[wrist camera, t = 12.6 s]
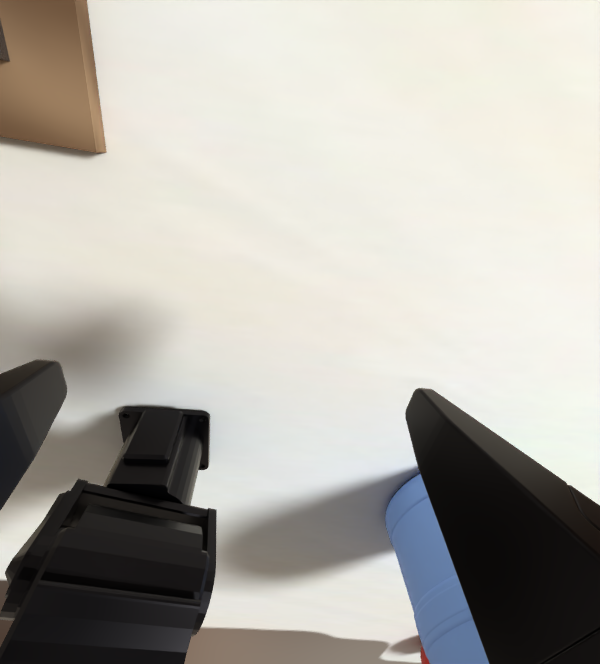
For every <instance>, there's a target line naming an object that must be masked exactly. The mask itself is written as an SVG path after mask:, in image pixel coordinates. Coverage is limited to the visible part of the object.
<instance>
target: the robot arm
mask: <svg viewBox="0 0 600 664" xmlns="http://www.w3.org/2000/svg"><path fill="white" fill-rule="evenodd" d="M66 395H67V385H66V382H65V378H64V374H63V371H62V367H61V364H60V363H59V362H57V361H55V360H42V359H39V360H34V361H32V362H29V363H27V364H24V365H22V366H19V367H17V368H14V369H12V370H9V371H7V372H4V373H2V374H0V510H1V509H2V507H3V506H4V504H5V503H6V501H7V500H8V498H9V496H10V495H11V493H12V492H13V490H14V489H15V487H16V486H17V484H18V483H19V481H20V480H21V478H22V477H23V475H24V473H25V472H26V470H27V469H28V467H29V466H30V464H31V463H32V461H33V459H34V458H35V456H36V454H37V452H38V451H39V449H40V447H41V445H42V443H43V441H44V439H45V437H46V435H47V433H48V431H49V429H50V427H51V425H52V423H53V421H54V419H55V418H56V416H57V414H58V412H59V410H60V408H61V406H62V404H63V402H64V400H65V398H66ZM202 417H203V418H202ZM119 419H120V425H121V431H122V436H123V442H124V445H123V447H122V449H121V451H120V453H119V455H118V457H117V459H116V461H115V463H114V465H113V467H112V469H111V472H110V474H109V476H108V478H107V480H106V482H105V484H104V486H100V485H95V484H91V483H88V481H85V480H81V479H78V480H77V482H76V483H75V485H74V486H73V488H72V489H71V490H70V491H68V490H67V492H66V493H62V494H59V496H58V497H57V499H56V501H55V502H54V504H53V505H52V507H51V509H50V510H49V512H48V514H47V515H46V517H45V518H44V520H43V521H42V523H41V524H40V525H39V527H38V528H37V529H36V530H35V532H34V533H33V534H32V535H31V537H30V538H29V539H28V540H27V542H26V543H25V544H24V545H23V547H22V548H21V549H20V550H19V552H18V553H17V554H16V555H15V557H14V558H13V559H12V561H11V562H10V564H9V566H8V568H7V569H6V572H5V575H6V578H7V581H8V584H9V588H8V590H7V593H6V595H5V598H7V599H6V601H5V603H4V606H3V608H2V610H1V613H0V620H12V621H13V620H14V621H13V623H12V625H11V627H10V630H9V631H8V634H7V635H6V637H5V639H4V641H3V643H2V645H1V647H0V664H184V662H185V657H186V653H187V649H188V646H189V642H190V639H191V636H194V635H196V634H197V632H198V631H199V629H200V627H201V625H202V623H203V620H204V618H205V615H206V612H207V609H208V606H209V603H210V599H211V595H212V590H213V585H214V579H215V570H216V510H215V509H210V508H208V509H203V508H199V507H194V506H190V504H191V500H192V495H193V491H194V487H195V482H196V478H197V473H198V470H205V469H207V468H208V465H209V445H210V414H209V413H207V412H204V411H188V410H170V409H153V408H135V407H124V408H122V410H121V411H120V413H119ZM406 421H407V425H408V429H409V433H410V437H411V441H412V445H413V449H414V453H415V457H416V461H417V464H418V468H419V471H420V474H421V477H422V480H423V483H424V485H425V488H426V491H427V494H428V496H429V499H430V502H431V505H432V507H433V510H434V513H435V516H436V518H437V521H438V524H439V527H440V529H441V532H442V535H443V538H444V541H445V543H446V546H447V549H448V552H449V554H450V557H451V560H452V563H453V565H454V568H455V571H456V574H457V576H458V579H459V582H460V585H461V587H462V590H463V593H464V596H465V598H466V601H467V604H468V607H469V609H470V612H471V615H472V618H473V620H474V623H475V626H476V629H477V631H478V634H479V637H480V640H481V642H482V645H483V648H484V651H485V653H486V656H487V659H488V662H489V664H600V505H598V504H597V503H595V502H594V501H592V500H591V499H589V498H588V497H587V496H585V495H584V494H582V493H581V492H579V491H578V490H576V489H575V488H574V487H572V486H571V485H567V483H566V482H565V481H563V480H562V479H561V478H559V477H558V476H556V475H555V474H553V473H552V472H550V471H549V470H548V469H546V468H545V467H543V466H542V465H540V464H539V463H537V462H536V461H535V460H533V459H532V458H530V457H529V456H527V455H526V454H524V453H523V452H522V451H520V450H519V449H517V448H516V447H514V446H513V445H511V444H510V443H509V442H507V441H506V440H504V439H503V438H501V437H500V436H499V435H497V434H496V433H494V432H493V431H491V430H490V429H488V428H487V427H486V426H484V425H483V424H481V423H480V422H478V421H477V420H475V419H474V418H473V417H471V416H470V415H468V414H467V413H465V412H464V411H463V410H461V409H460V408H458V407H457V406H455V405H454V404H452V403H451V402H450V401H448V400H447V399H445V398H444V397H442V396H441V395H439V394H438V393H437V392H435V391H434V390H432V389H425V388H418V389H416V390H415V391H414V393H413V395H412V397H411V400H410V402H409V404H408V406H407V409H406Z"/></svg>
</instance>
